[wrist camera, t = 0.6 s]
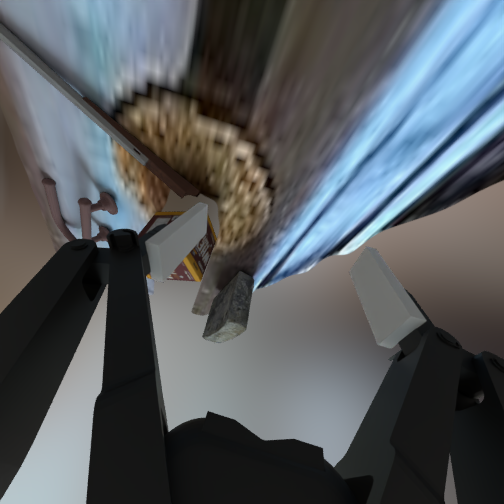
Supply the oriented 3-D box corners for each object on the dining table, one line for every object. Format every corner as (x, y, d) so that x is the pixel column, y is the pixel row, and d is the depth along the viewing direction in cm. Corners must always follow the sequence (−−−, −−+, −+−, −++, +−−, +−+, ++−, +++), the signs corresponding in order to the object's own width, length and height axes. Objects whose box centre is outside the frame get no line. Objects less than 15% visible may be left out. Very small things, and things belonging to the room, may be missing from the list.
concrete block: (230, 298, 85) (220, 344, 72) (213, 291, 82) (198, 338, 69) (261, 273, 66) (254, 330, 53) (239, 264, 63) (226, 320, 50)
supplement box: (217, 238, 55) (201, 282, 45) (172, 238, 58) (147, 279, 48) (208, 210, 48) (185, 255, 38) (156, 211, 50) (122, 253, 40)
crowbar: (-3, 11, 29) (-45, 3, 25) (-5, -6, 27) (-49, -16, 24) (197, 197, 45) (188, 207, 42) (202, 192, 44) (193, 202, 41)
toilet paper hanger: (31, 154, 41) (88, 211, 42) (69, 151, 46) (119, 202, 47) (52, 226, 60) (90, 264, 61) (77, 218, 65) (112, 254, 66)
